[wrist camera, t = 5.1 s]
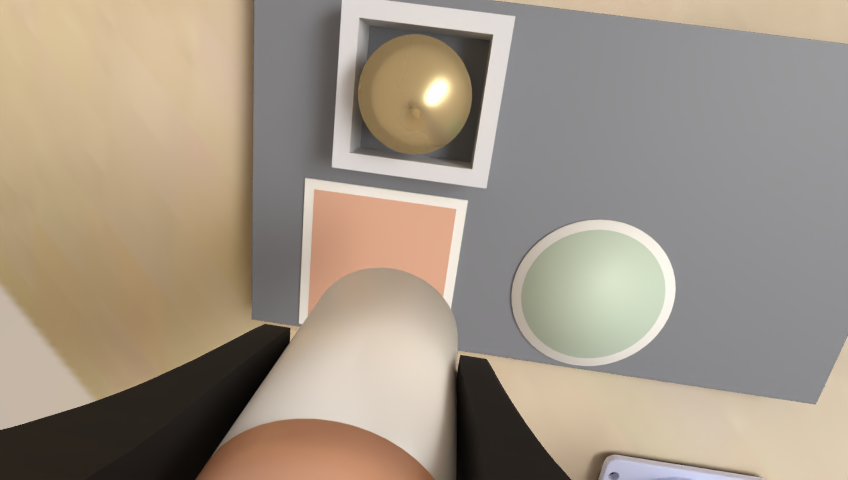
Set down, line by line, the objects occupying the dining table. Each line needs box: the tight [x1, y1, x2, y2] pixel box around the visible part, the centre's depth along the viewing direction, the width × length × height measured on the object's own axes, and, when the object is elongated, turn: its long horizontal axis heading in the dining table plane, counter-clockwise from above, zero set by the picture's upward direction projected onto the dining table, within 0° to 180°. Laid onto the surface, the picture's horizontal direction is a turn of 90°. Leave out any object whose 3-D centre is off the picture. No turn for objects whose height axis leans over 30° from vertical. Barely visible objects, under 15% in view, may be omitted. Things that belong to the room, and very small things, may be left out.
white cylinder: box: [195, 268, 458, 480], centre depth 9 cm, size 4×4×7 cm
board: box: [252, 0, 848, 404], centre depth 18 cm, size 14×25×3 cm, turn 83°
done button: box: [358, 34, 472, 154], centre depth 15 cm, size 4×4×2 cm
